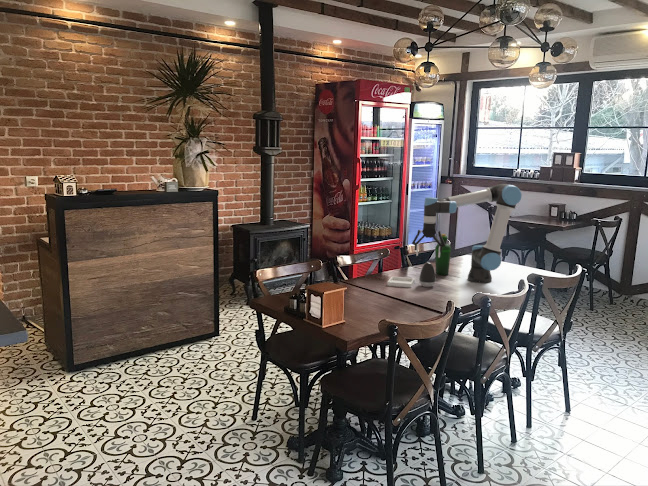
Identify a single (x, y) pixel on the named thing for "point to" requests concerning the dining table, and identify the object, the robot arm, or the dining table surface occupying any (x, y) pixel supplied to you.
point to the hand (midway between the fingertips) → (427, 256)
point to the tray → (401, 282)
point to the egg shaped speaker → (427, 275)
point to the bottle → (443, 257)
